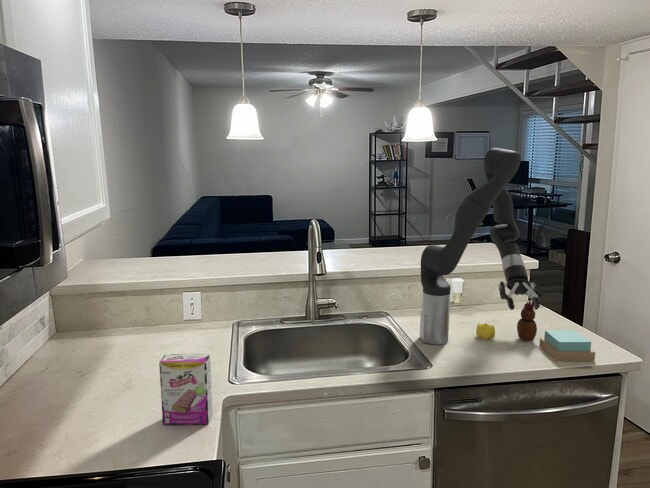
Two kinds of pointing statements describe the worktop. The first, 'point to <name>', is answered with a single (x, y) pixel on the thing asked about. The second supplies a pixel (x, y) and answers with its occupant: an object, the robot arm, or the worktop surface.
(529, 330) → the wooden figurine
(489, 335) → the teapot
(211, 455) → the worktop surface
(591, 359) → the tower base
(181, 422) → the candy bar box
